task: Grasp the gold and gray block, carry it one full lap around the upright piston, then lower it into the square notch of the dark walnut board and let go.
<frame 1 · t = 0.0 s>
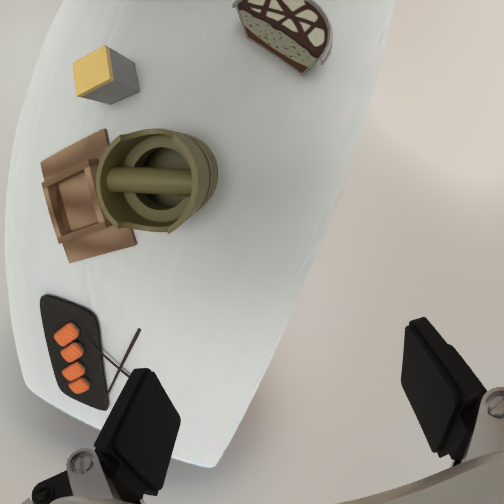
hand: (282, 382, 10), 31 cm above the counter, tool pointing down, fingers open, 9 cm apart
food container: (288, 41, 32), on the counter
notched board: (84, 199, 39), on the counter
piston: (177, 174, 38), on the counter
gold and gray block: (122, 83, 34), on the counter
sushi plate: (108, 367, 51), on the counter
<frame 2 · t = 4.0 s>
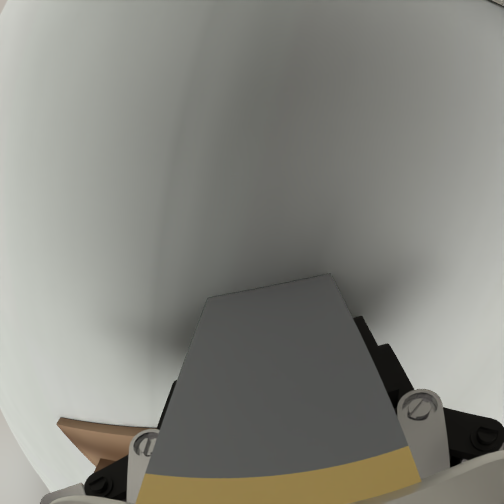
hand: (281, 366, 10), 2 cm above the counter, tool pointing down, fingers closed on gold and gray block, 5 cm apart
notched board: (180, 485, 18), on the counter
gold and gray block: (280, 337, 12), on the counter, touching gripper
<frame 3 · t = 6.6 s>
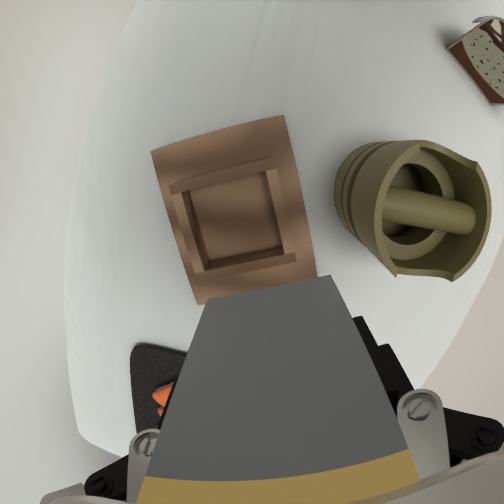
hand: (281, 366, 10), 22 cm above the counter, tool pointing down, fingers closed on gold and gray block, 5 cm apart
food container: (476, 65, 23), on the counter
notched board: (236, 215, 31), on the counter
piston: (382, 193, 29), on the counter
gold and gray block: (280, 338, 12), point 20 cm above the counter, touching gripper
sushi plate: (223, 420, 42), on the counter
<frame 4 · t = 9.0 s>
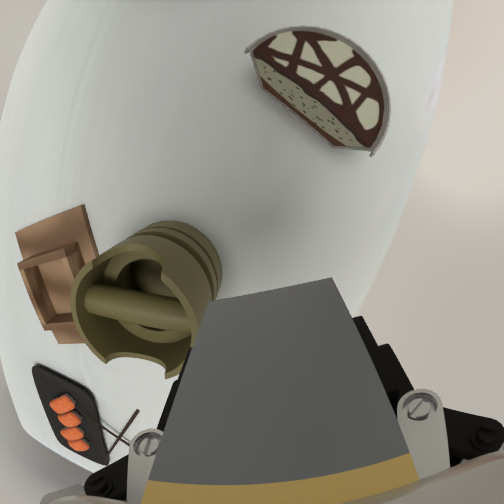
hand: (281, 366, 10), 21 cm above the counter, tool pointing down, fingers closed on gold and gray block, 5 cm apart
food container: (316, 96, 26), on the counter
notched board: (67, 282, 33), on the counter
piston: (172, 269, 32), on the counter
gold and gray block: (281, 340, 12), point 19 cm above the counter, touching gripper
sushi plate: (107, 432, 44), on the counter
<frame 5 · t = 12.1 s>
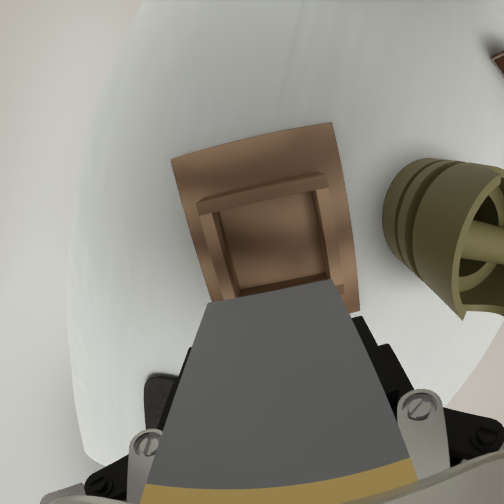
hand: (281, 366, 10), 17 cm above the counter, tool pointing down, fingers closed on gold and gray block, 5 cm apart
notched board: (273, 237, 26), on the counter
piston: (430, 214, 25), on the counter
gold and gray block: (280, 342, 12), point 15 cm above the counter, touching gripper
sushi plate: (243, 445, 38), on the counter
when the fingers open (5 cm above the counter, at t = 14.5 s): gold and gray block drops 2 cm, resting on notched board.
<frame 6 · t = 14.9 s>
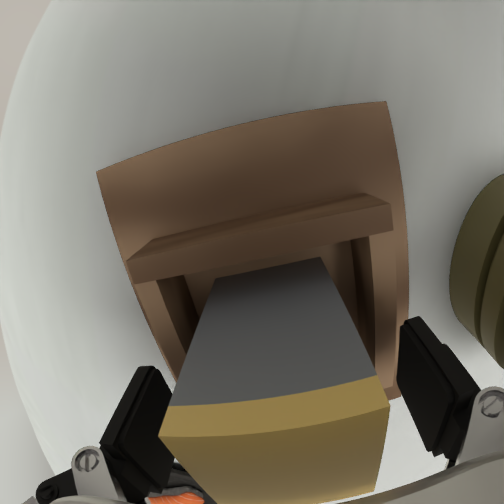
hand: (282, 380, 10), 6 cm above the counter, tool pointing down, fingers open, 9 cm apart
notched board: (277, 304, 15), on the counter
gold and gray block: (277, 313, 14), point 1 cm above the counter, touching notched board
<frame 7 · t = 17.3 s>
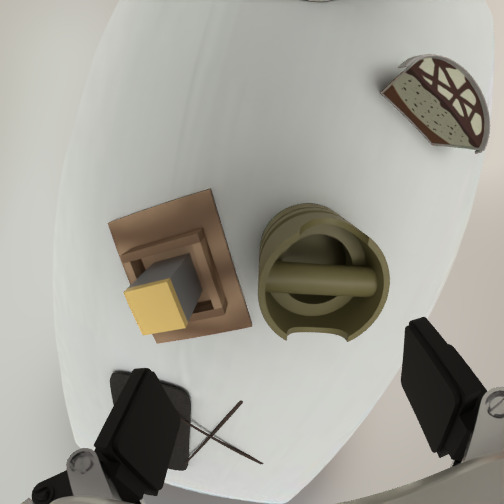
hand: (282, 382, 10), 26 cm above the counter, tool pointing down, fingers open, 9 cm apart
food container: (417, 103, 29), on the counter
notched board: (179, 273, 36), on the counter
piston: (306, 249, 35), on the counter
gold and gray block: (177, 276, 35), point 1 cm above the counter, touching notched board
sushi plate: (193, 433, 47), on the counter
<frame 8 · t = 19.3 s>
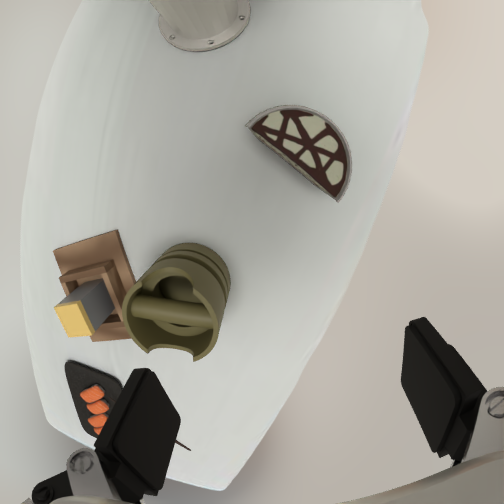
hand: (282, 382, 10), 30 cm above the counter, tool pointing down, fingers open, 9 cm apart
food container: (301, 144, 35), on the counter
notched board: (102, 291, 43), on the counter
piston: (192, 279, 42), on the counter
gold and gray block: (100, 293, 43), point 1 cm above the counter, touching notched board
sushi plate: (131, 417, 55), on the counter
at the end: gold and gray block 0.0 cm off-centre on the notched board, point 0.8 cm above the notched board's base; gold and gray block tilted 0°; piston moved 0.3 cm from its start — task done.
